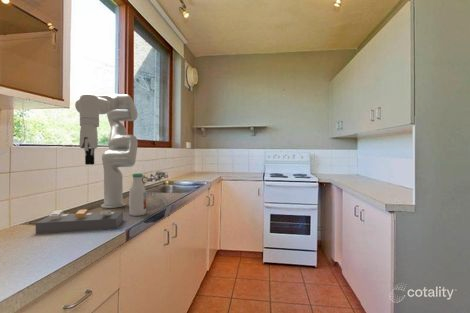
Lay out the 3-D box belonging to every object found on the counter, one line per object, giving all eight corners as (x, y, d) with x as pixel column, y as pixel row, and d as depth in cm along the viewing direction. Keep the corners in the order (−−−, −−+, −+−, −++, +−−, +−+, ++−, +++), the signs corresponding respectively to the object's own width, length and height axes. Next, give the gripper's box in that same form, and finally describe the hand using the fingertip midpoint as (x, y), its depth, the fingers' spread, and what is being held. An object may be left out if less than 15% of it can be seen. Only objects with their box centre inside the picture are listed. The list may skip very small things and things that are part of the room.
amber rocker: (79, 213, 107) (79, 209, 107) (87, 212, 108) (87, 208, 108) (75, 217, 103) (75, 213, 102) (83, 217, 103) (83, 213, 103)
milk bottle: (140, 216, 124) (140, 174, 123) (125, 215, 125) (125, 174, 125) (149, 212, 131) (148, 173, 131) (135, 212, 133) (135, 173, 133)
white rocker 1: (54, 213, 105) (54, 210, 105) (63, 213, 106) (62, 209, 106) (49, 219, 101) (48, 215, 100) (58, 219, 101) (57, 215, 101)
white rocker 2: (103, 214, 110) (103, 210, 110) (111, 213, 110) (111, 209, 110) (100, 214, 105) (100, 210, 105) (108, 213, 105) (108, 209, 106)
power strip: (52, 223, 111) (52, 213, 111) (123, 219, 117) (123, 210, 117) (35, 233, 97) (35, 222, 97) (116, 228, 104) (116, 218, 104)
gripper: (85, 124, 122) (86, 163, 122) (73, 120, 107) (74, 165, 108) (103, 125, 124) (103, 163, 124) (93, 121, 109) (94, 165, 109)
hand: (89, 164), depth 116 cm, fingers closed
